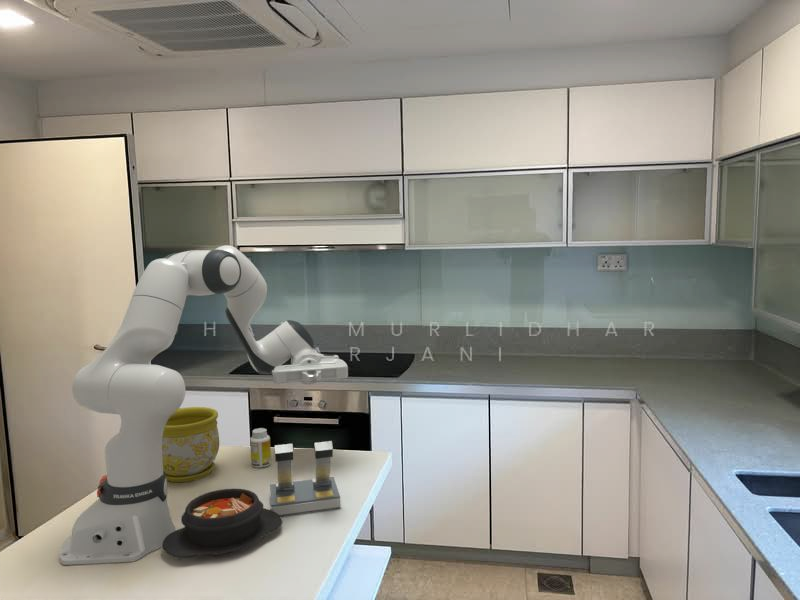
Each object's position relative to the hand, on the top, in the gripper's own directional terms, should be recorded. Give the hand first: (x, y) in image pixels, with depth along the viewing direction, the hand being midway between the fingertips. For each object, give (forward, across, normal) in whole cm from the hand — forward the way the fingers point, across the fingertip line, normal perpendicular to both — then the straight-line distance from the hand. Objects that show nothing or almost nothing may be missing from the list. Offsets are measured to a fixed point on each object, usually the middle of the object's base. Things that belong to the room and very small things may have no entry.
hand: (313, 378), depth 157 cm
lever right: (+13, 0, +24) cm, 27 cm away
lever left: (+13, -9, +24) cm, 28 cm away
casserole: (+26, -22, +28) cm, 44 cm away
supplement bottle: (-15, -14, +28) cm, 35 cm away
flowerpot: (-15, -34, +28) cm, 47 cm away
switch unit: (+13, -4, +28) cm, 31 cm away
